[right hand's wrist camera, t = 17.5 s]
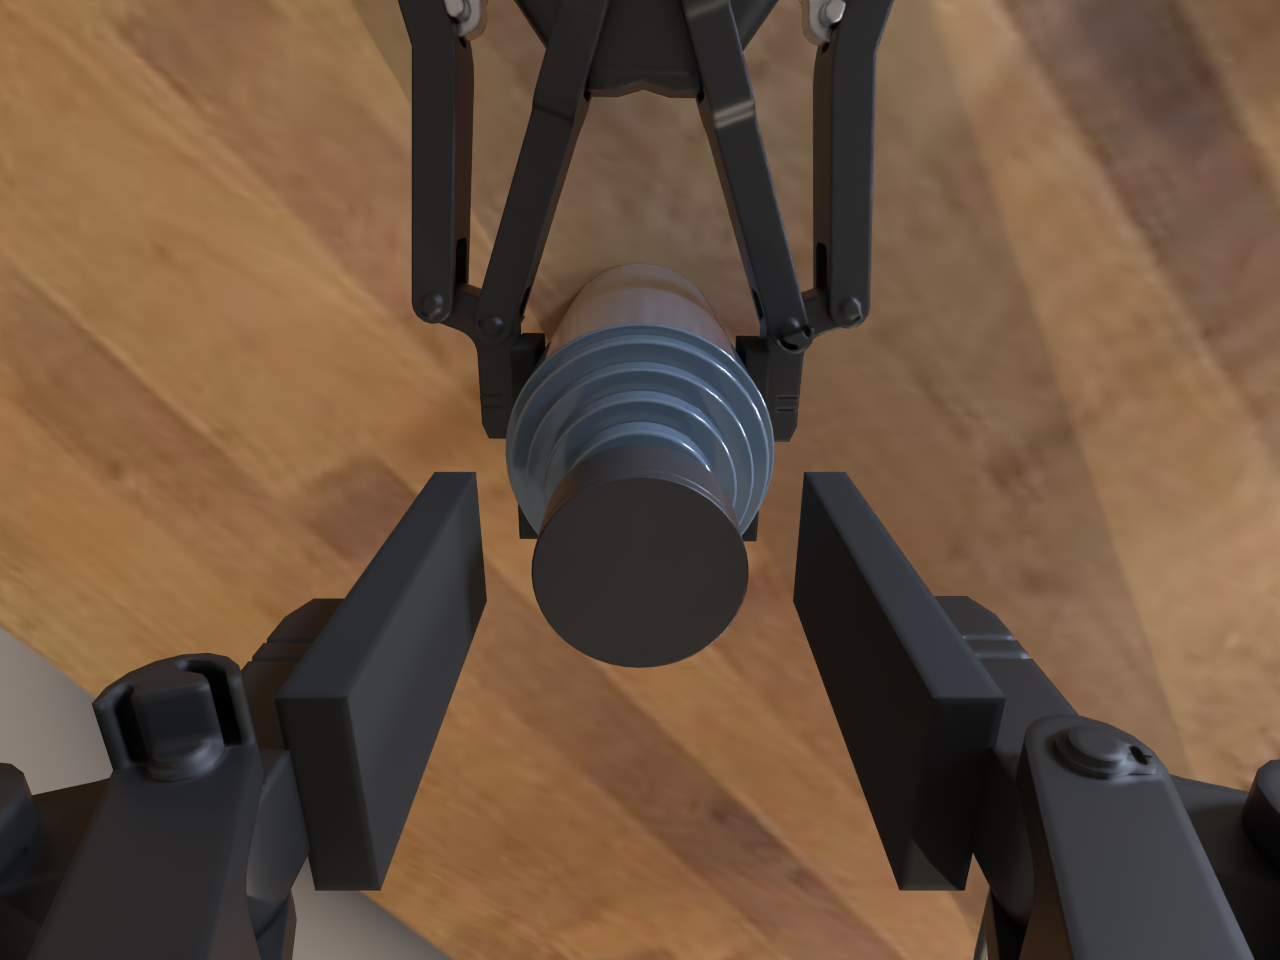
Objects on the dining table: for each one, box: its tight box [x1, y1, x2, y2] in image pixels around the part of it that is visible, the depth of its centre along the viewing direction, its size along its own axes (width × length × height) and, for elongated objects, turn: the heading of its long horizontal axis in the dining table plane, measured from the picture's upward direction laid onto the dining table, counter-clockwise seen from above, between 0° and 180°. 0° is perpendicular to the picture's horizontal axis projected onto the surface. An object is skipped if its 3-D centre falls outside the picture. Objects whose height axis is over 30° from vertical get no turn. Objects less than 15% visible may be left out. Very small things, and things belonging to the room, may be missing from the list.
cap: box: [532, 444, 748, 668], centre depth 14 cm, size 4×4×2 cm
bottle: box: [506, 263, 775, 536], centre depth 22 cm, size 7×7×19 cm
